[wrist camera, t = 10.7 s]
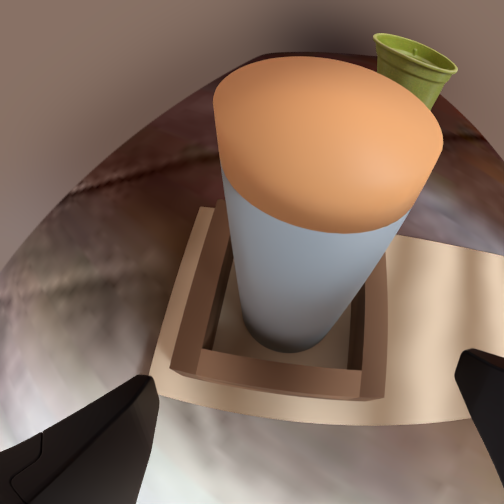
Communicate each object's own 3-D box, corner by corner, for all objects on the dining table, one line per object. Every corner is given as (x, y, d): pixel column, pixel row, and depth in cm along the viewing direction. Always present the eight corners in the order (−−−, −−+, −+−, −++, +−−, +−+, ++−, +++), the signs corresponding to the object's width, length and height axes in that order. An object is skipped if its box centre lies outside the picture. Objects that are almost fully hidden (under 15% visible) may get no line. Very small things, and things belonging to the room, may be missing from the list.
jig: (511, 265, 18) (535, 243, 15) (526, 405, 12) (558, 396, 9) (202, 215, 20) (194, 180, 17) (151, 392, 14) (125, 384, 11)
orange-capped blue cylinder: (338, 350, 14) (481, 189, 4) (241, 354, 14) (198, 176, 4) (328, 266, 17) (393, 68, 7) (242, 267, 17) (222, 56, 7)
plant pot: (343, 97, 29) (354, 30, 22) (393, 90, 31) (408, 35, 24) (402, 144, 25) (428, 70, 17) (447, 131, 27) (471, 72, 20)
